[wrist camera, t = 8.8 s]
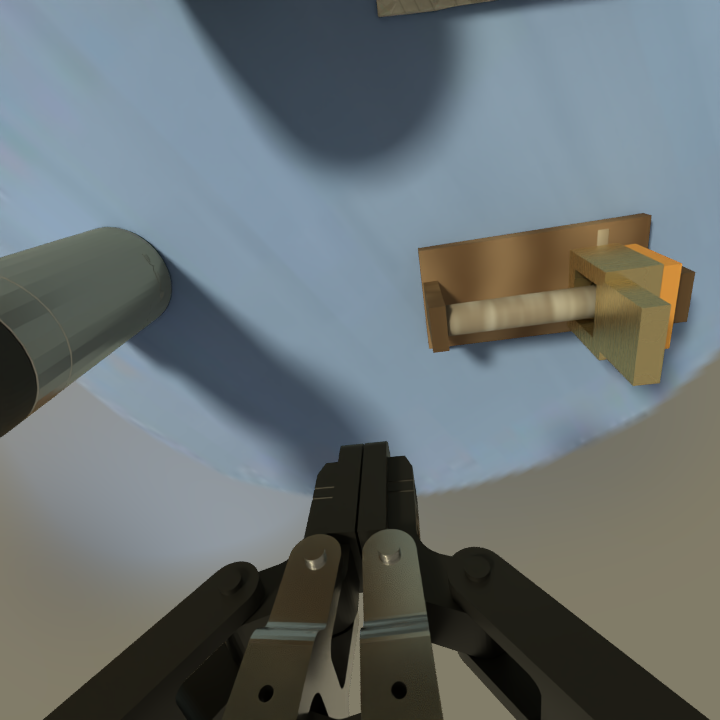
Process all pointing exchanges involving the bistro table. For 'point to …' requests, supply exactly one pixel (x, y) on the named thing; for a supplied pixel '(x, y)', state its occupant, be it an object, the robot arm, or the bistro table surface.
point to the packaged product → (418, 6)
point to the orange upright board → (665, 281)
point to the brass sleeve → (622, 309)
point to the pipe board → (521, 282)
